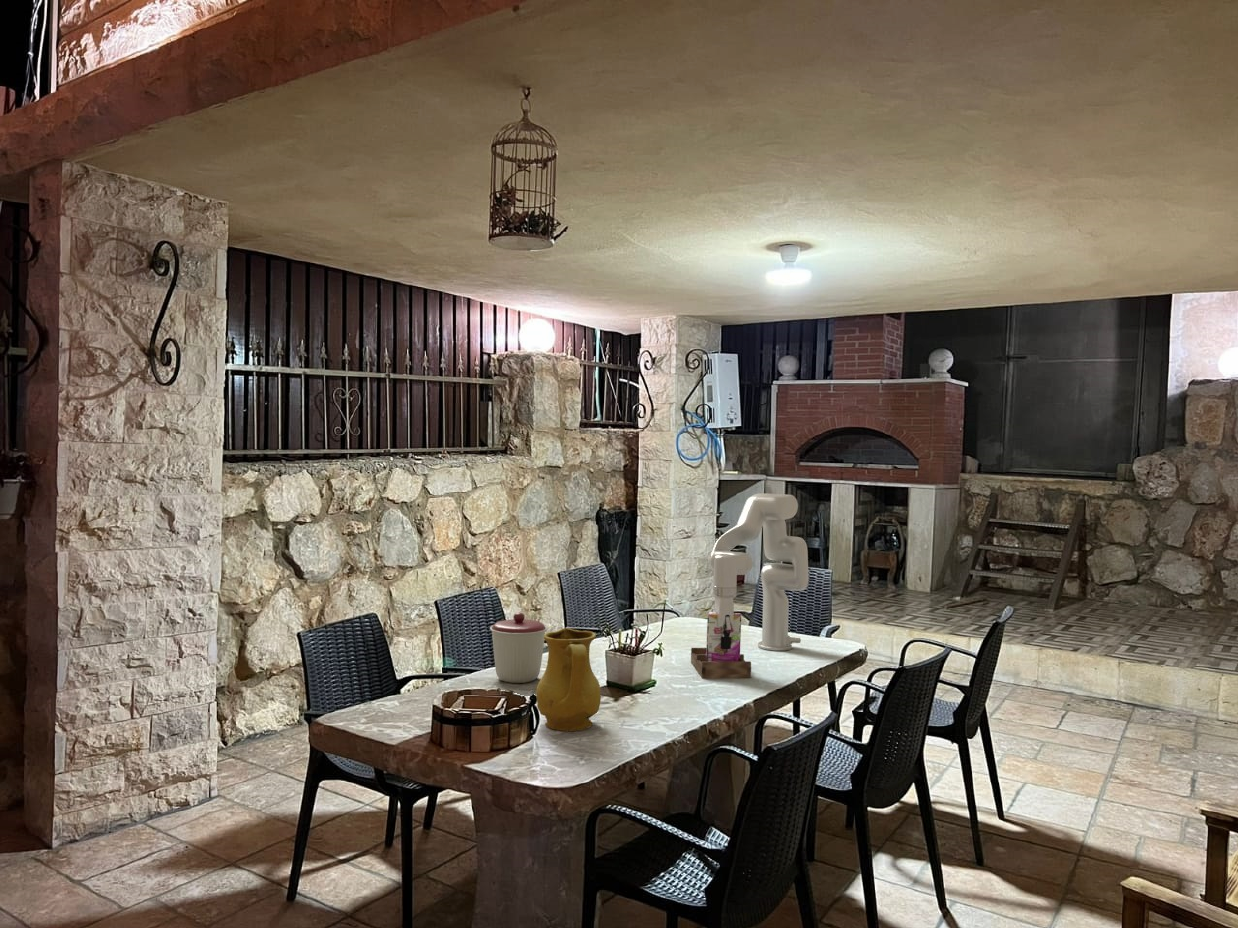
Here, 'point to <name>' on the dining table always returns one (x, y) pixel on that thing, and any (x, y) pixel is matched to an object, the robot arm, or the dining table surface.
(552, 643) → the pitcher
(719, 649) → the candy bar box
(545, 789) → the dining table surface
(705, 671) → the rack
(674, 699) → the dining table surface
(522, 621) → the canister
